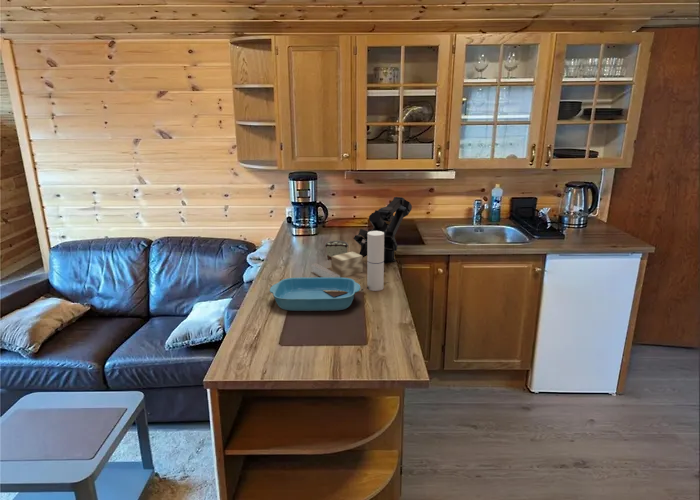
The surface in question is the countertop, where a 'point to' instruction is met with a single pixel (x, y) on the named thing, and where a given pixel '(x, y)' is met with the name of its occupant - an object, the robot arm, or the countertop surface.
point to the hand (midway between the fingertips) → (359, 258)
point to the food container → (335, 248)
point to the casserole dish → (314, 293)
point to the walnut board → (354, 276)
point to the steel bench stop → (322, 271)
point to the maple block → (347, 264)
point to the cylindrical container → (375, 260)
